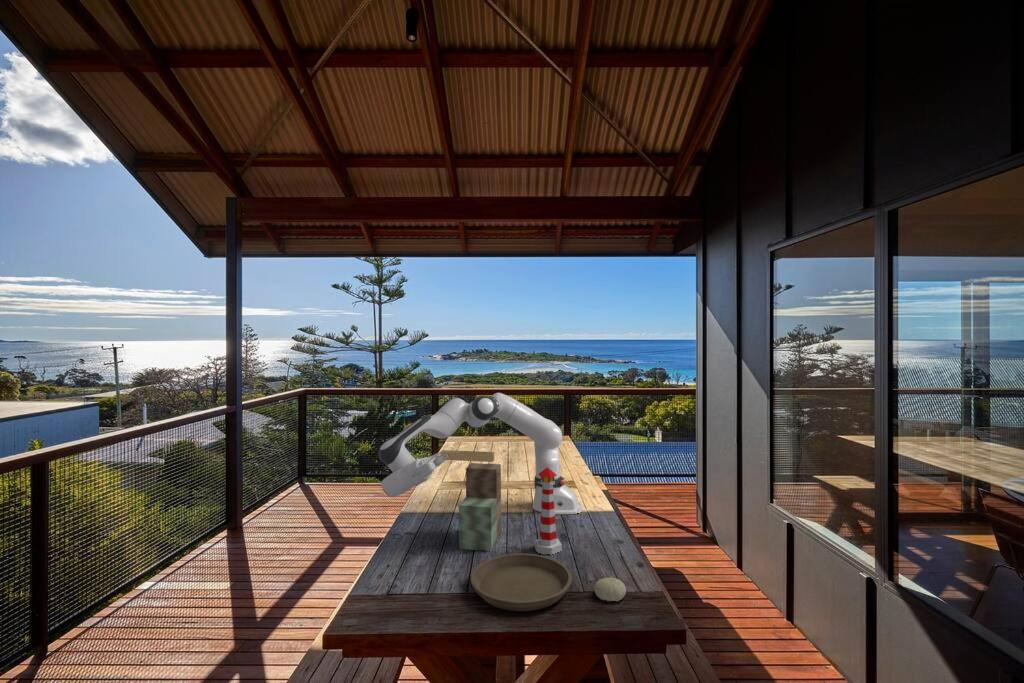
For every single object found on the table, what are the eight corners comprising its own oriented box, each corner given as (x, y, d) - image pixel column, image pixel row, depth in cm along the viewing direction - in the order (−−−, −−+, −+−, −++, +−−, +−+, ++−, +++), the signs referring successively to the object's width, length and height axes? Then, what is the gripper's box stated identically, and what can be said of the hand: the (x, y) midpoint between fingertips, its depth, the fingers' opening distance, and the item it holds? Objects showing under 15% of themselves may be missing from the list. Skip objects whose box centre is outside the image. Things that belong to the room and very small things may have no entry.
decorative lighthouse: (564, 546, 190) (564, 465, 189) (558, 556, 181) (558, 471, 181) (537, 542, 193) (537, 463, 193) (530, 552, 185) (530, 469, 184)
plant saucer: (540, 628, 137) (540, 611, 137) (449, 597, 154) (449, 582, 154) (588, 581, 164) (588, 566, 164) (506, 559, 180) (505, 546, 180)
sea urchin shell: (588, 583, 158) (606, 564, 158) (606, 600, 158) (624, 581, 159) (595, 598, 149) (614, 577, 149) (614, 616, 149) (633, 596, 150)
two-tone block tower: (501, 532, 204) (500, 464, 203) (491, 551, 186) (490, 476, 186) (471, 530, 206) (471, 463, 205) (459, 548, 188) (458, 475, 188)
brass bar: (494, 460, 192) (494, 452, 192) (492, 462, 189) (492, 453, 189) (442, 457, 196) (442, 450, 196) (440, 459, 193) (440, 451, 193)
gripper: (405, 470, 186) (436, 452, 184) (424, 457, 206) (453, 441, 204) (413, 486, 185) (445, 468, 183) (432, 471, 205) (461, 455, 203)
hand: (449, 454), depth 193 cm, fingers closed on brass bar, 3 cm apart
